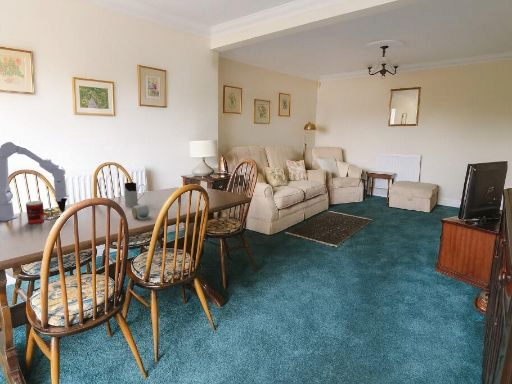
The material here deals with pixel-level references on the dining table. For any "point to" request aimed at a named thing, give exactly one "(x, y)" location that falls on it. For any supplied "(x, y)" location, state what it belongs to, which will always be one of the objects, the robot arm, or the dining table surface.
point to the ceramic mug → (140, 211)
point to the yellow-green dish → (52, 212)
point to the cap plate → (51, 215)
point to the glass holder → (131, 194)
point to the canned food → (35, 212)
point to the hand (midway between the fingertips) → (62, 210)
